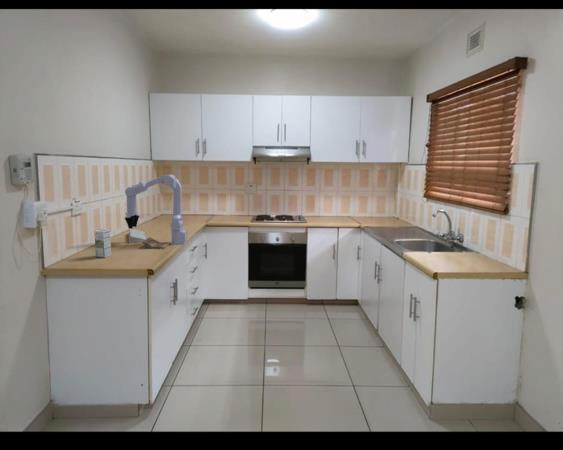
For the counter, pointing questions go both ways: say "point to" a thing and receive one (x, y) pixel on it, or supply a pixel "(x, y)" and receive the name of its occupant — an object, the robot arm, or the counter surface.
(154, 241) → the board
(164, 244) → the laid plank
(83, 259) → the counter surface
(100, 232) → the syrup box
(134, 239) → the decorative molding
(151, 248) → the plate
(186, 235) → the robot arm
